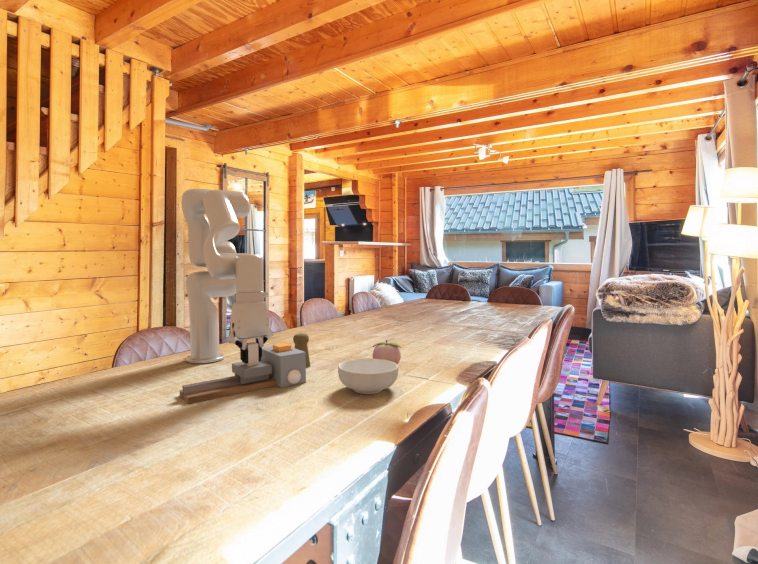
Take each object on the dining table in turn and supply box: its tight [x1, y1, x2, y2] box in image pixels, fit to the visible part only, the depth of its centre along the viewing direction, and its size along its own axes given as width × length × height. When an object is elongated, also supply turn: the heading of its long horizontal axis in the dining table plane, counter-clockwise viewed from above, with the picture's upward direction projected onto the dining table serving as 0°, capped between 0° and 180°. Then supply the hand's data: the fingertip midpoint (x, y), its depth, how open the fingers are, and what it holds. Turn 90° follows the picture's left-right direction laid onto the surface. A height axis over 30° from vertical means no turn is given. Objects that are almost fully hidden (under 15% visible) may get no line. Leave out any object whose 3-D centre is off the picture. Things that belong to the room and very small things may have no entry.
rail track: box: [179, 374, 277, 405], centre depth 119 cm, size 8×24×4 cm, turn 130°
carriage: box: [231, 341, 272, 384], centre depth 123 cm, size 9×8×10 cm
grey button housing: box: [261, 345, 307, 389], centre depth 129 cm, size 15×8×9 cm, turn 40°
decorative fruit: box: [372, 339, 402, 365], centre depth 139 cm, size 9×8×10 cm
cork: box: [292, 332, 311, 369], centre depth 144 cm, size 6×6×11 cm
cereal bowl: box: [337, 358, 399, 395], centre depth 119 cm, size 17×17×7 cm
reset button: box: [272, 342, 292, 353], centre depth 129 cm, size 4×4×4 cm
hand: (251, 361), depth 123 cm, fingers closed on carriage, 3 cm apart
